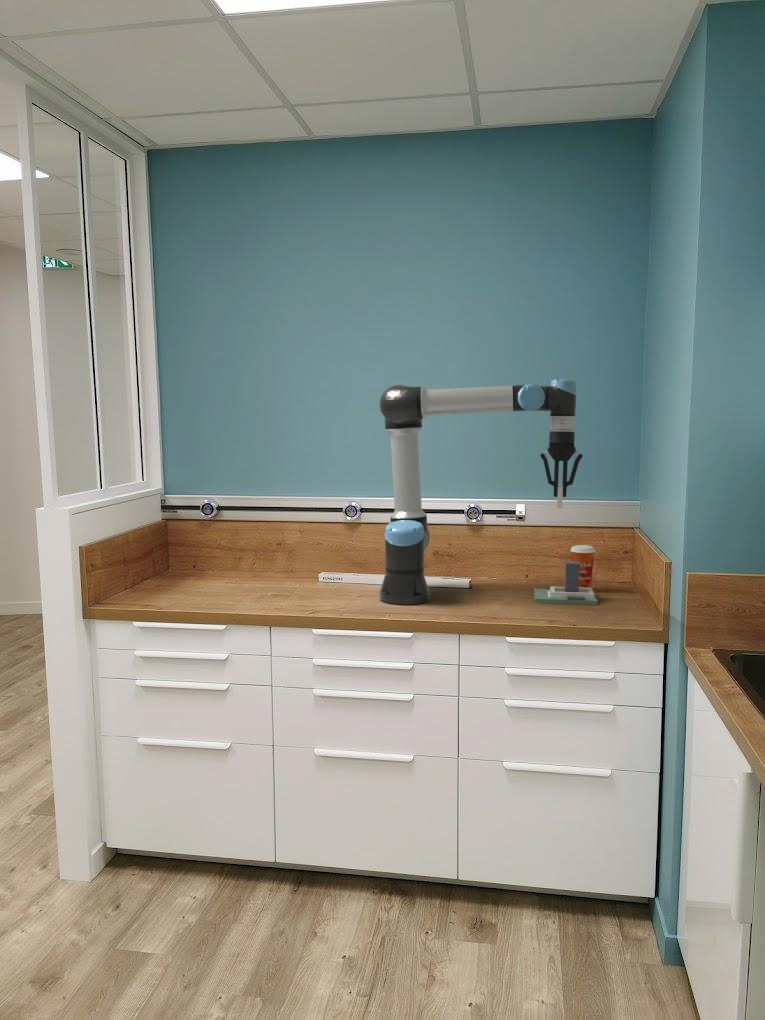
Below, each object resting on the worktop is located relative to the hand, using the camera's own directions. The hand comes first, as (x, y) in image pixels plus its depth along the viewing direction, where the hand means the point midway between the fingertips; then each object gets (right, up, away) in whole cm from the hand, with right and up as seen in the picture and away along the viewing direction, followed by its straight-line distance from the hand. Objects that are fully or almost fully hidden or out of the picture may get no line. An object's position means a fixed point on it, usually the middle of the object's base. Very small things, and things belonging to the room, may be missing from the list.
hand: (559, 507), depth 251 cm
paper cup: (+9, -27, +9) cm, 30 cm away
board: (+1, -28, -2) cm, 28 cm away
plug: (+3, -27, -3) cm, 27 cm away
